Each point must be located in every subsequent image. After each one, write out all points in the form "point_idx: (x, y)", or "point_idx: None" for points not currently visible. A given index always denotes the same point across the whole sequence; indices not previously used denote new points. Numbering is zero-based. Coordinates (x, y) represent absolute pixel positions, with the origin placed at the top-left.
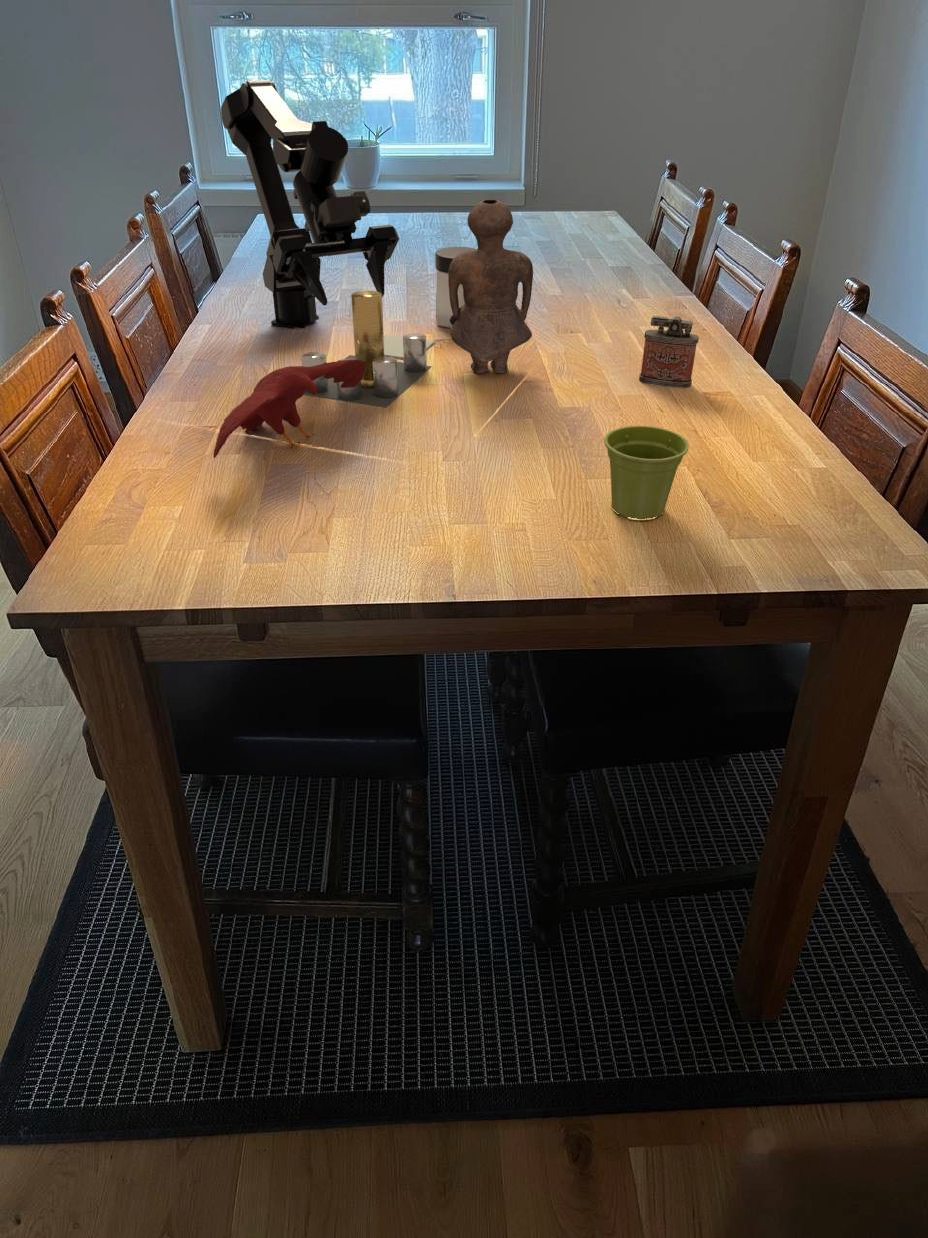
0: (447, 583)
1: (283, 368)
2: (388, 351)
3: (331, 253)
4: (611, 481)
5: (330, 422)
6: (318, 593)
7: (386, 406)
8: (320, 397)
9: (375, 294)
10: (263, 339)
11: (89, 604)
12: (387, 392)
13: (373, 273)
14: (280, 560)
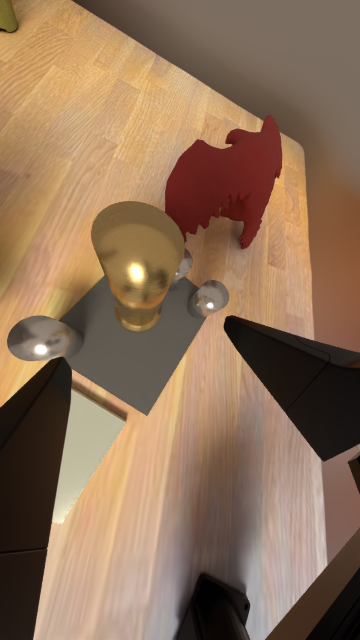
0: (157, 62)
1: (265, 147)
2: (84, 418)
3: (325, 583)
4: None
5: (191, 238)
6: (211, 93)
7: None
8: (196, 286)
9: (113, 232)
10: (252, 507)
11: (285, 137)
12: None
13: (34, 489)
14: (226, 119)
